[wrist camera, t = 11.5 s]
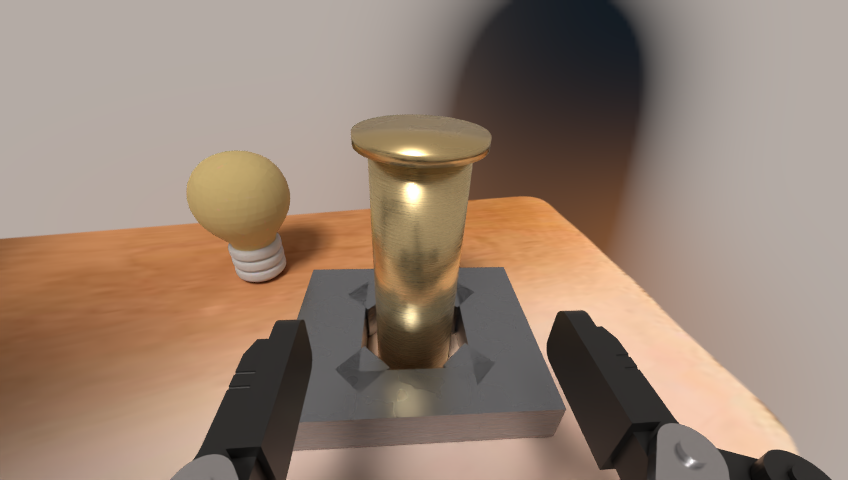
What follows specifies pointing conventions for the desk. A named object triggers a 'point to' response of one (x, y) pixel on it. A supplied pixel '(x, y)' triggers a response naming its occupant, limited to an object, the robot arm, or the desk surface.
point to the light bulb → (243, 209)
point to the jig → (423, 370)
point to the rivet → (417, 228)
